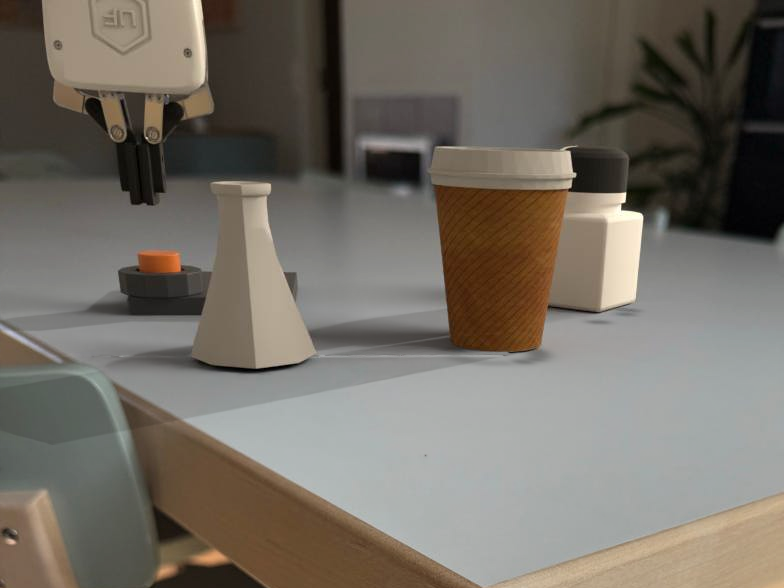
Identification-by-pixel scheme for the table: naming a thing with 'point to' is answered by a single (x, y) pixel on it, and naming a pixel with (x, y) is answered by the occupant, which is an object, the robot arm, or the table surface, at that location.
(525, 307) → the disposable coffee cup
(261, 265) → the flask
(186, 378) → the table surface
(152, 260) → the button
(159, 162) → the robot arm
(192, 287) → the scale
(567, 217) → the medicine bottle
